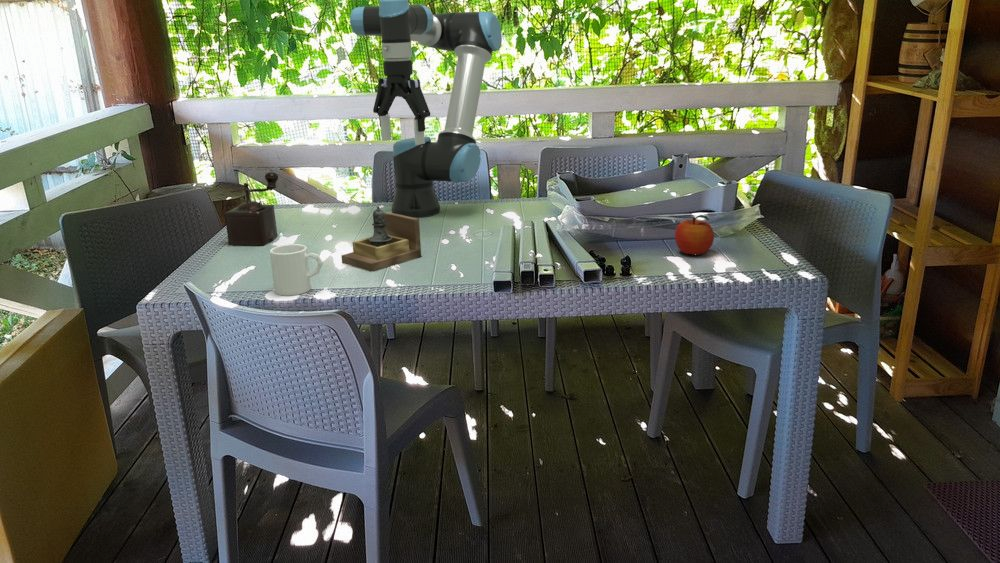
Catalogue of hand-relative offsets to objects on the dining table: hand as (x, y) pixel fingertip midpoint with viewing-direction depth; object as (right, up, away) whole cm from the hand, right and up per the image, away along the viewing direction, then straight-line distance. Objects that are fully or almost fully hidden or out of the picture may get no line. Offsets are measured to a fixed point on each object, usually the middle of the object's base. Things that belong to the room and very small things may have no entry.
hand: (403, 142), depth 217 cm
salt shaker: (-4, -30, -11) cm, 32 cm away
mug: (-19, -39, -32) cm, 54 cm away
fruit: (+75, -30, -13) cm, 81 cm away
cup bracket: (-4, -32, -11) cm, 34 cm away
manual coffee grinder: (-42, -25, +13) cm, 51 cm away
